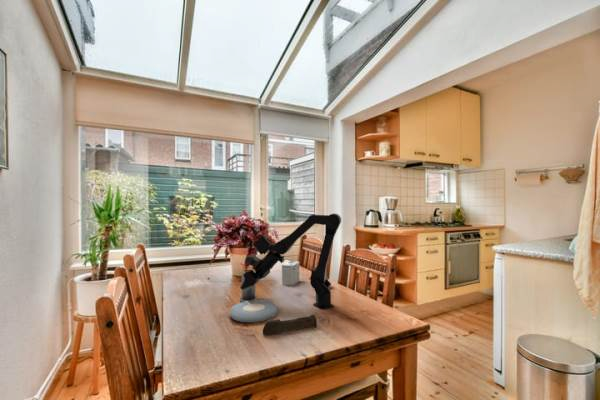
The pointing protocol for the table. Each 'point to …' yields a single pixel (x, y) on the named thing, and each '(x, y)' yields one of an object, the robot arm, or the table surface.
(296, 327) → the hand tool
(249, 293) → the dark grey cylinder
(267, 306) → the turntable
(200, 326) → the table surface
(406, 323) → the table surface
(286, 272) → the light bulb box
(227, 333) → the table surface
